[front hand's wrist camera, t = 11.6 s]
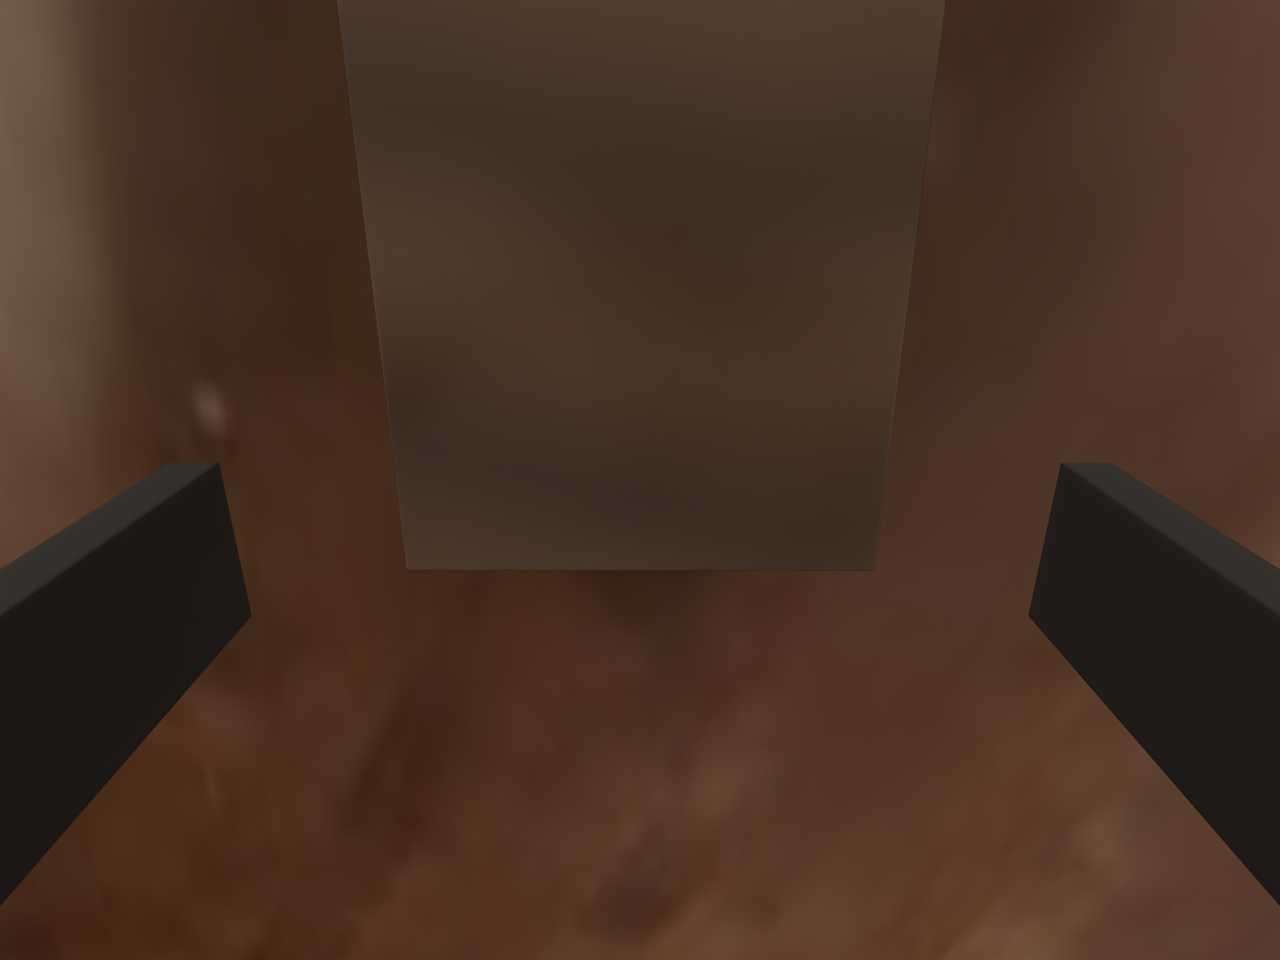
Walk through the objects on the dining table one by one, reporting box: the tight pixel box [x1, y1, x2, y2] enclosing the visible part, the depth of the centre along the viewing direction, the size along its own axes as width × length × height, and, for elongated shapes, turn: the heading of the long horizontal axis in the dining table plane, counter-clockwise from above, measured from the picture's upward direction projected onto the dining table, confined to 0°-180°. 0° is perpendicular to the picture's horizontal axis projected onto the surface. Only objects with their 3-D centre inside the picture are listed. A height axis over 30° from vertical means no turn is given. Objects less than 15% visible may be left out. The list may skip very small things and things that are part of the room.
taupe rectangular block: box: [337, 0, 946, 570], centre depth 19 cm, size 18×11×10 cm, turn 0°
